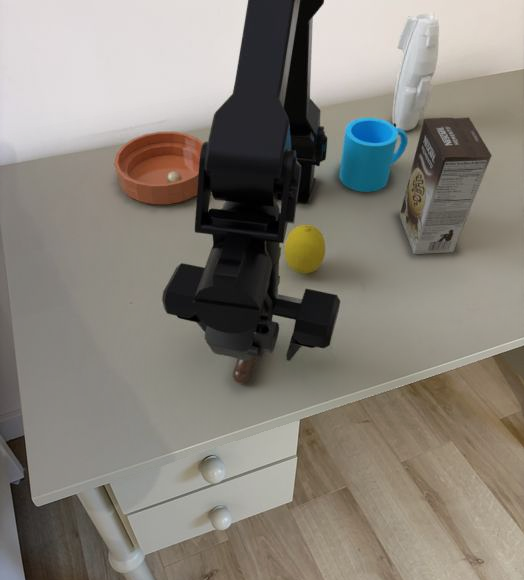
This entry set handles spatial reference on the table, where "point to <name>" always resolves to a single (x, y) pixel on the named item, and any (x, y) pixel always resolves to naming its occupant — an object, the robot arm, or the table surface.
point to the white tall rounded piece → (415, 70)
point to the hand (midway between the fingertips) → (252, 349)
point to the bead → (173, 177)
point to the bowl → (159, 167)
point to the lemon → (304, 249)
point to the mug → (369, 153)
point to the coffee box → (443, 183)
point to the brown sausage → (243, 370)
